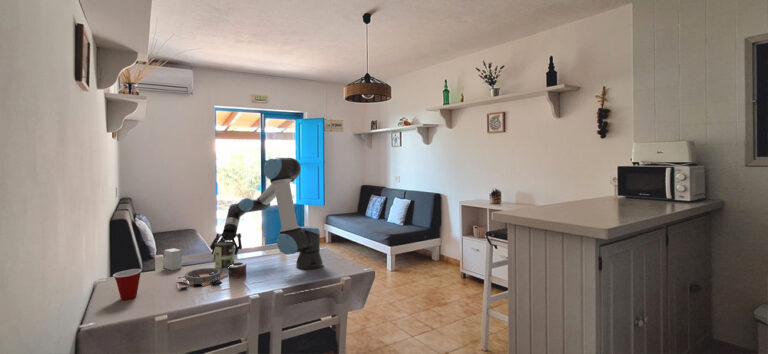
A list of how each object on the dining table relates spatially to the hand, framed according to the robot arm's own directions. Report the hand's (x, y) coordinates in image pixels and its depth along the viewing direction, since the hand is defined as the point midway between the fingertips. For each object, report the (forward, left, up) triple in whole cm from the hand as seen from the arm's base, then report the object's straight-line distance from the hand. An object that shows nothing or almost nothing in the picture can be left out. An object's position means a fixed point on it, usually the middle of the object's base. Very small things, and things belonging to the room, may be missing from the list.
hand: (223, 259), depth 216 cm
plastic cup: (+9, +50, -6) cm, 51 cm away
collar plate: (-3, +18, -5) cm, 19 cm away
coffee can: (+1, -3, -6) cm, 6 cm away
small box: (+27, +8, -6) cm, 29 cm away
